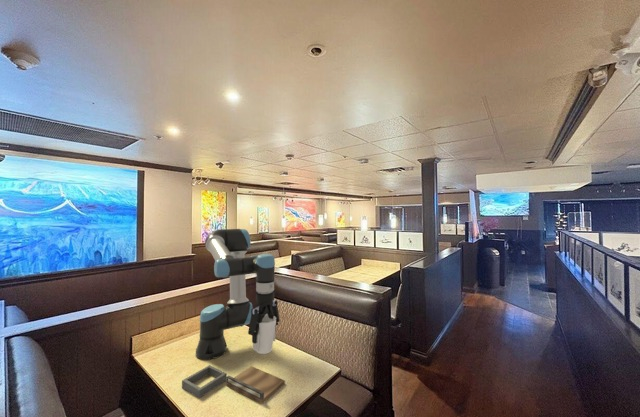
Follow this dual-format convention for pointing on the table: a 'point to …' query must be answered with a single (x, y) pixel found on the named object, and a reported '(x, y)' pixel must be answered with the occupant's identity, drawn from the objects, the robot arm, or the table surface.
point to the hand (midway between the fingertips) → (264, 345)
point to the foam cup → (266, 334)
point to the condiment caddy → (200, 392)
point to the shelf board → (255, 384)
